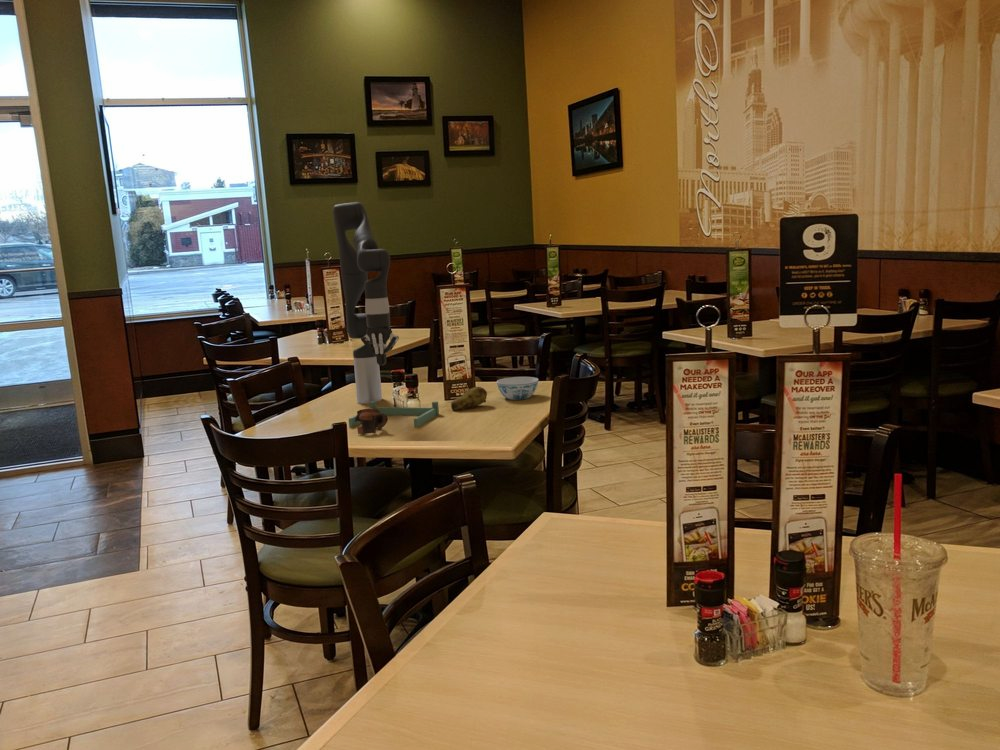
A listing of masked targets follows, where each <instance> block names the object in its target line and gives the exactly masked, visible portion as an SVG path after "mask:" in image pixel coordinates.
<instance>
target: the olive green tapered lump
mask: <svg viewBox="0 0 1000 750" xmlns="http://www.w3.org/2000/svg"><path fill="white" fill-rule="evenodd" d="M487 393H488V392H487V389H485V388H483V387H481V386H474V387H471V388H470V389H468V390H466V392H464V393H463V394H462V395H461V396H459V397H457V398H455V399H454V400H453V401H452V402H451V403H450V407H451V410H452V411H454V412H460V411H465V410H471V409H474V408H476V407H478V406H479V405H482V404H483V403H487V396H488V394H487Z"/></svg>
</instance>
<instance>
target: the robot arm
mask: <svg viewBox="0 0 1000 750" xmlns="http://www.w3.org/2000/svg"><path fill="white" fill-rule="evenodd" d="M367 213H368V212H367V209H366V208H365V205H363V203H361V202H359V201H354V202H345V203H339V204H335V205H334V206H333V208H332V216H333V217H332V219H333V224H334V228H335V229H334V231H335V234H336V240H337V244H338V246H337V247H338V255H339V265H340V274H341V275H340V276H341V281H342V289H343V294H344V303H345V304H344V305H345V318H346V319H345V320H346V332H347V335H348V337H349V338H350V339H353V340H357V339H358V340H359V339H360V341H361V342H362V343H363V345H361V346H358V347H357V348H354V349H353V351H352V357H353V367H354V369H353V370H354V378H355V379H354V380H355V390H356V393H355V394H356V402H357V404H362V405H363V404H364V405H368V404H369V405H370V402H372V401H376V403H380V402H382V401H383V396H382V395H383V393H382V382H381V372H380V371H381V370H380V366H385V365H386V364H387V363H388V362H387V353H388V352H391V351H392V349H393V348H394V346H395V345H396V344H397V342H398V341H399V338H400V337H399V335H395V334H394V333H393V330H392V328H391V316H390V314H391V313H390V304H389V297H388V286H387V284H388V283H387V282H388V276H389V270H390V265H391V256H390V253H389V251H388V250H387V249H385V248H379V245H378V243H377V240H376V239H375V237H374V235H373V232H372V228H371V224H370V221H369V217H368V214H367ZM354 230H355V232H354V234H353V236H352V243H351V242H350V240H349V238H348V236H347V234H346V233H347V231H354ZM352 244H353V245H352ZM375 272H378V274H377V276H376V277H374V278H370V279H369V278H368V277H369V276H368V273H375ZM363 293H364V295H365V307H364V308H365V313H364V312H363V313H355V311H356V307H357V304H358V302H359V299H360V298H361V296H362V294H363ZM389 340H390V341H389ZM388 341H389V342H388Z"/></svg>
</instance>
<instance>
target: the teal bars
mask: <svg viewBox="0 0 1000 750" xmlns="http://www.w3.org/2000/svg"><path fill="white" fill-rule="evenodd" d="M369 409H377V410H379V411H380V413H384V414H386V415H387V416H417V417H415V418H413V427H414V428H419V427H420V426H422V425H424V424H425V423H427V422H428V421H430V420H432V419H433V418H435V417H436V416H438V415H439V414H440V413H439V401H433V402H431V407H421V406H420V407H411V406H410V407H407V406H406V407H402V406H401V407H400V406H399V407H393V406H392V407H391V406H389V407H386V406H385V407H383V406H381V407H380V406H378V407H377V402H376V401H372V402H370V404H369ZM356 416H357V414H355V415H353V416H351V417H349V418H348V428H353V427H354V428H355V427H356V426H357V425H359V424H360V423H361V422H360V421H356V422H355V417H356ZM361 424H362V423H361Z"/></svg>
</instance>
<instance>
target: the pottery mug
mask: <svg viewBox="0 0 1000 750" xmlns="http://www.w3.org/2000/svg"><path fill="white" fill-rule="evenodd" d="M356 415H357V416H356V417H355V422H356V421H360V422H361V425H360V426H358V427H357V428H356V429H357V434H358V435H360V434H361V435H362V434H376V433H377V430H378V431H381V430H383V428H384V427H385V426H386V424H387V423H388V421H389V418H388V415H386V414H384V413H380V411H379V410H377V409H370V408H364V409H358V411H356Z"/></svg>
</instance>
